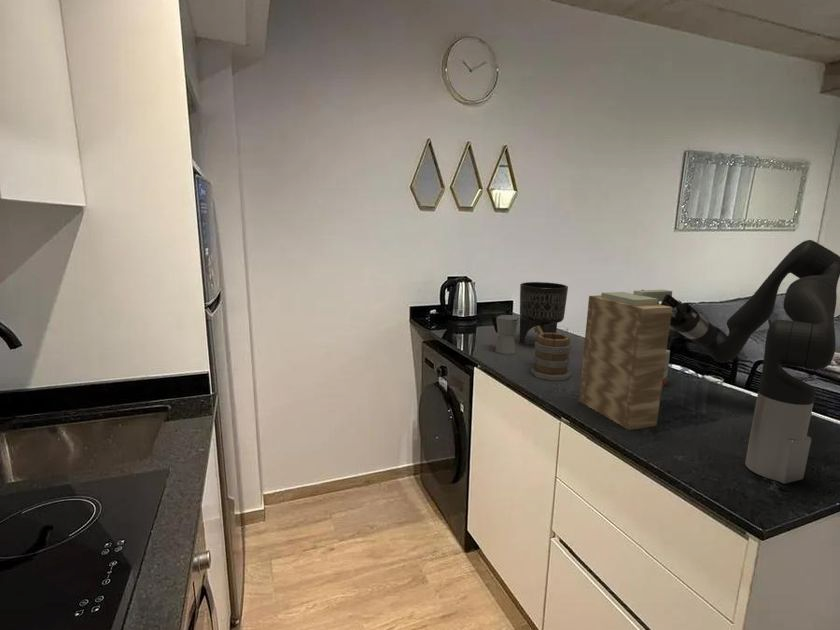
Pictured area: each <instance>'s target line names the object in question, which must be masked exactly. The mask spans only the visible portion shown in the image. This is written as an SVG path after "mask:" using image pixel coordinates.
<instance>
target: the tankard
mask: <svg viewBox="0 0 840 630" xmlns="http://www.w3.org/2000/svg"><path fill="white" fill-rule="evenodd" d="M533 328H534V329H533V331H534V333H537V335H536V336H537V339H536V341H534V355H533V363H535V364H534V366H533V367H531V368H530V373H531V374H532V375H533V376H535V377H536V378H537V379H542V380H546V381H549V382H555V381H557V382H558V381H566V380H568V379H569V378H570V377H571V375H572V371H570V370H569V369H568V366H569V365H571V357H569V354H570V352H571V351H572V343H570V342H571V337H570V336H568V335H566V334H563V333H557V332H556V333H543V331H542V329H541V328H540V326H536V327H533Z"/></svg>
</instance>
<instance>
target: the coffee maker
mask: <svg viewBox="0 0 840 630" xmlns="http://www.w3.org/2000/svg"><path fill="white" fill-rule="evenodd" d="M511 311H512V309H510V308H505V309H504V313H505V314H501V313H500V314H493V316H492V318H491V322H492V324H493V327H494V331H495V333H496V334H497V333H498V336H497V341H496V346H495V349H494V350H495V351H494V352H495V353H496V354H499V355H507V356H511V355H515V354H516V346H515V345H516V343H515V335H516V332H517V328H518V323H520V320H519V317H517V316H514V315H513V314H512V315H511Z"/></svg>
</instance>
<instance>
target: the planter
mask: <svg viewBox="0 0 840 630" xmlns="http://www.w3.org/2000/svg"><path fill="white" fill-rule="evenodd" d="M568 290H569V286H568V285H566V284H564V283H563V284H562V283H558V282H557V283H555V282H544V281H543V282H542V281H529V282H522V283H520V285H519V316H520V317H519V343H520V344H524V343H526V338H527V334H528V333H529V331H530V330H531V329H533V328H535V327H536V326H540V328H541V329H542V331H543V333H557V331H558V330H557V327H558V324H559V323H561V322H563V321H564V319H565V313H566V305H567V298H568V292H569V291H568Z"/></svg>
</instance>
